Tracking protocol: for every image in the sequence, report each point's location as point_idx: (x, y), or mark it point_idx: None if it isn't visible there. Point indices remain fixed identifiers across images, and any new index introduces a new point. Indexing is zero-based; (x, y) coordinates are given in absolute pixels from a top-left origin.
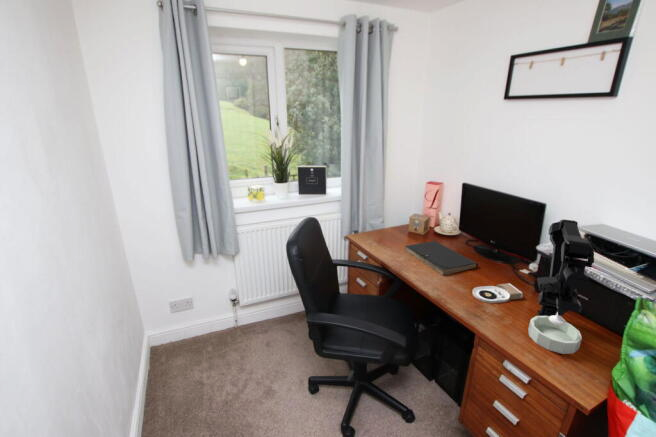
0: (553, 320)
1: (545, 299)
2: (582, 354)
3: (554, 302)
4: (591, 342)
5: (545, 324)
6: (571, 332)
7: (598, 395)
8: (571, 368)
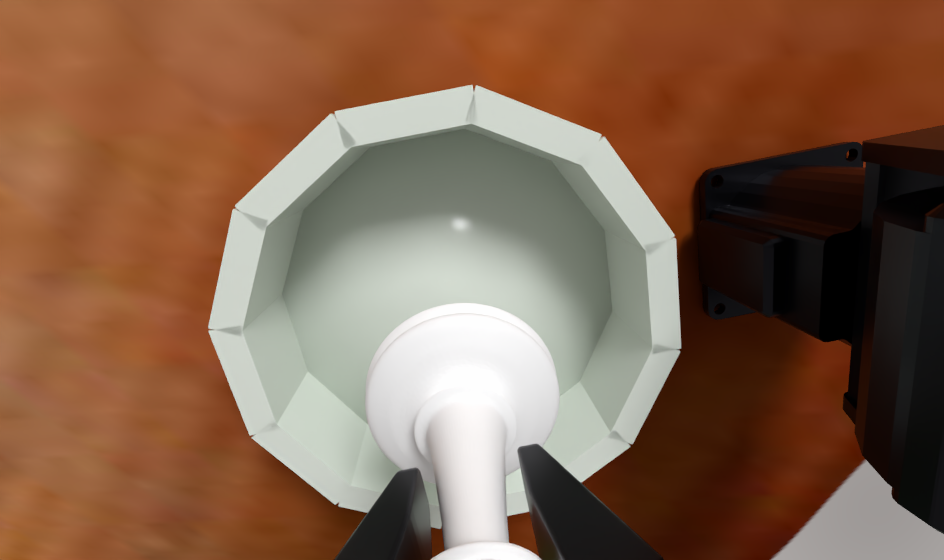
0: (383, 370)
1: (931, 226)
2: None
3: (892, 359)
4: None
5: (608, 233)
6: (557, 431)
7: (14, 555)
8: (158, 430)
